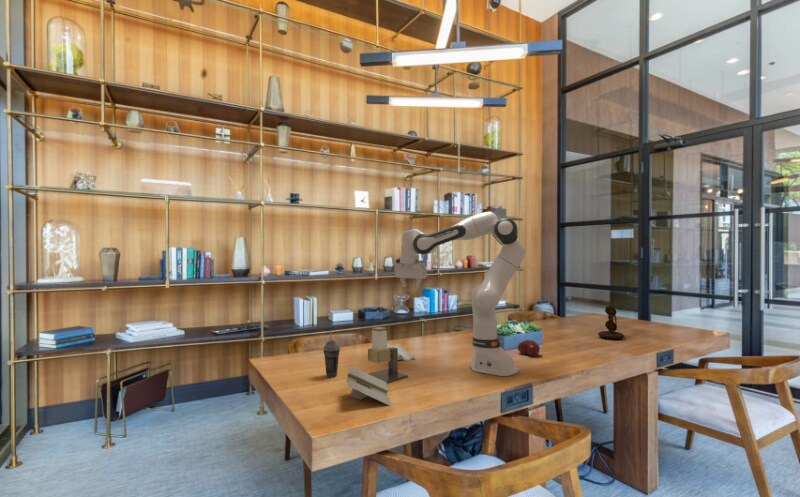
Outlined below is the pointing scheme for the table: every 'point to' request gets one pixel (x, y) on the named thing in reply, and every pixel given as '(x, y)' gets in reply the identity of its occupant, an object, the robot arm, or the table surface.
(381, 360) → the bracket
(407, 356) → the crown molding
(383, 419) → the table surface
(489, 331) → the robot arm
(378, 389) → the grey grooved block
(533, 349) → the heart
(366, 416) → the table surface
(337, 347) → the dark travel mug
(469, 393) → the table surface
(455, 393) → the table surface
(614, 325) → the dark figurine
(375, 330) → the rail end
